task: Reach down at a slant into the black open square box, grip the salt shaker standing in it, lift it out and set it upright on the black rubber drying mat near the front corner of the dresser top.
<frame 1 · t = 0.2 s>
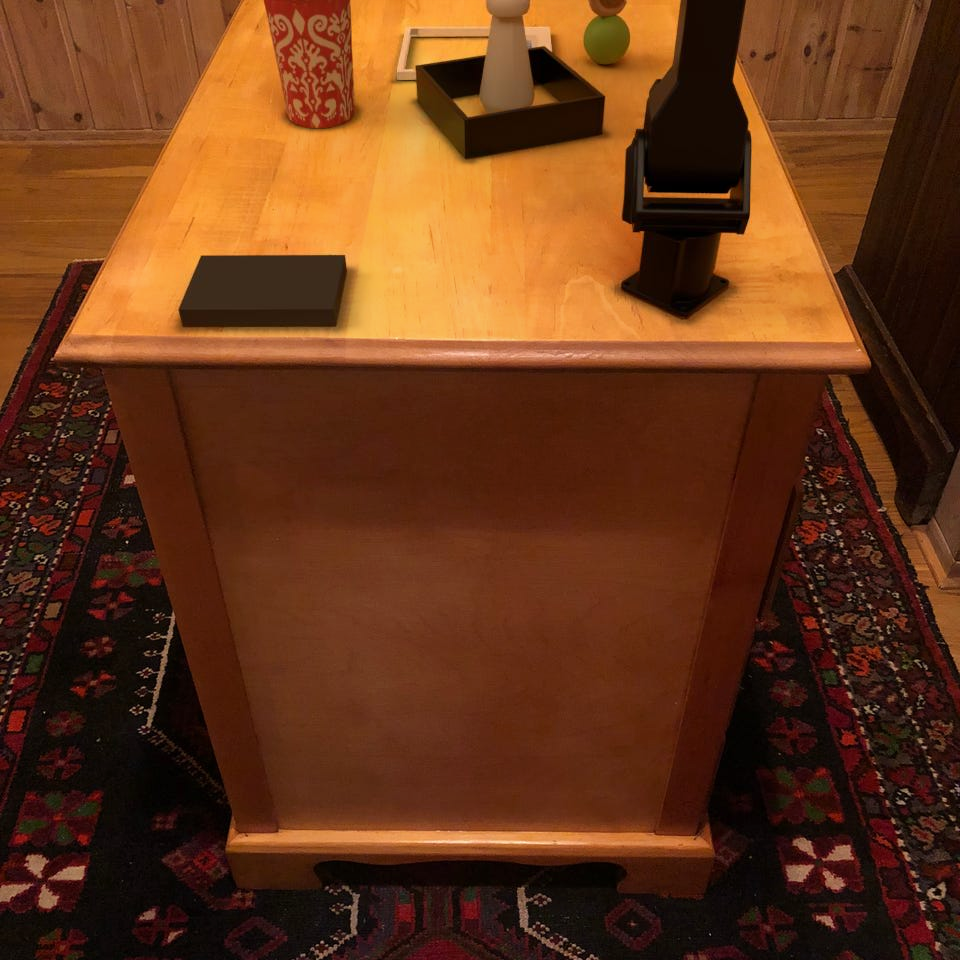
drying mat: (267, 298, 77), on the table
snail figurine: (601, 65, 113), on the table
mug: (325, 110, 104), on the table
salt shaker: (506, 119, 102), resting in black open square box
black open square box: (506, 118, 102), on the table
photo frame: (476, 57, 114), on the table
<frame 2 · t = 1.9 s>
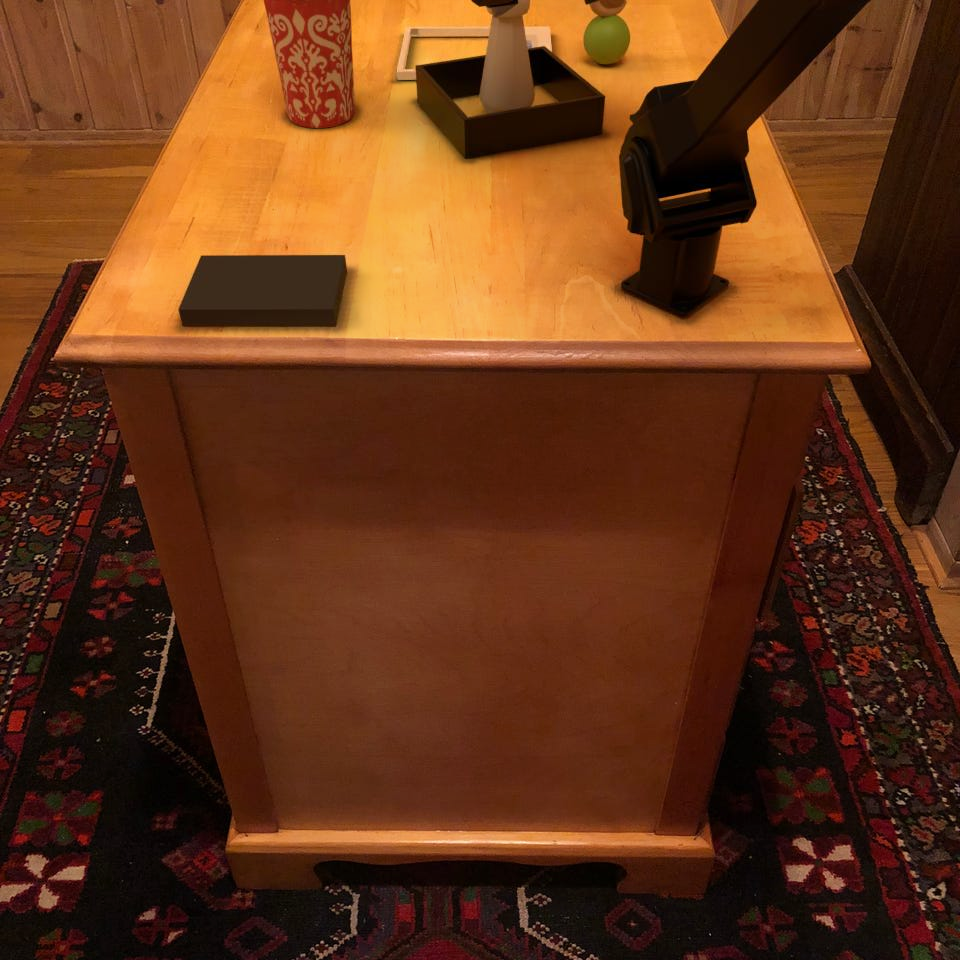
hand: (540, 5, 87), 13 cm above the table, tool tilted 45°, fingers open, 9 cm apart
nothing on the table moved.
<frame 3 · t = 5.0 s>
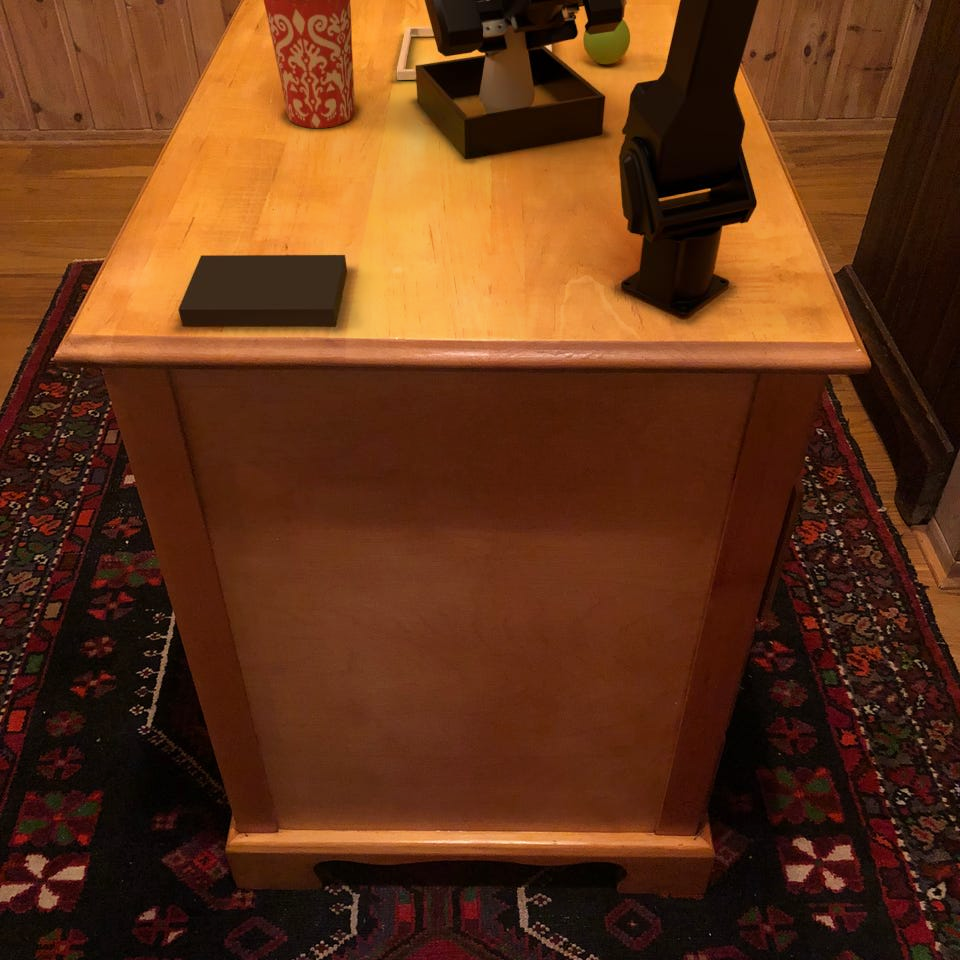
hand: (502, 50, 98), 7 cm above the table, tool tilted 45°, fingers closed on salt shaker, 3 cm apart
salt shaker: (506, 119, 102), resting in black open square box, touching gripper
everything else where it was.
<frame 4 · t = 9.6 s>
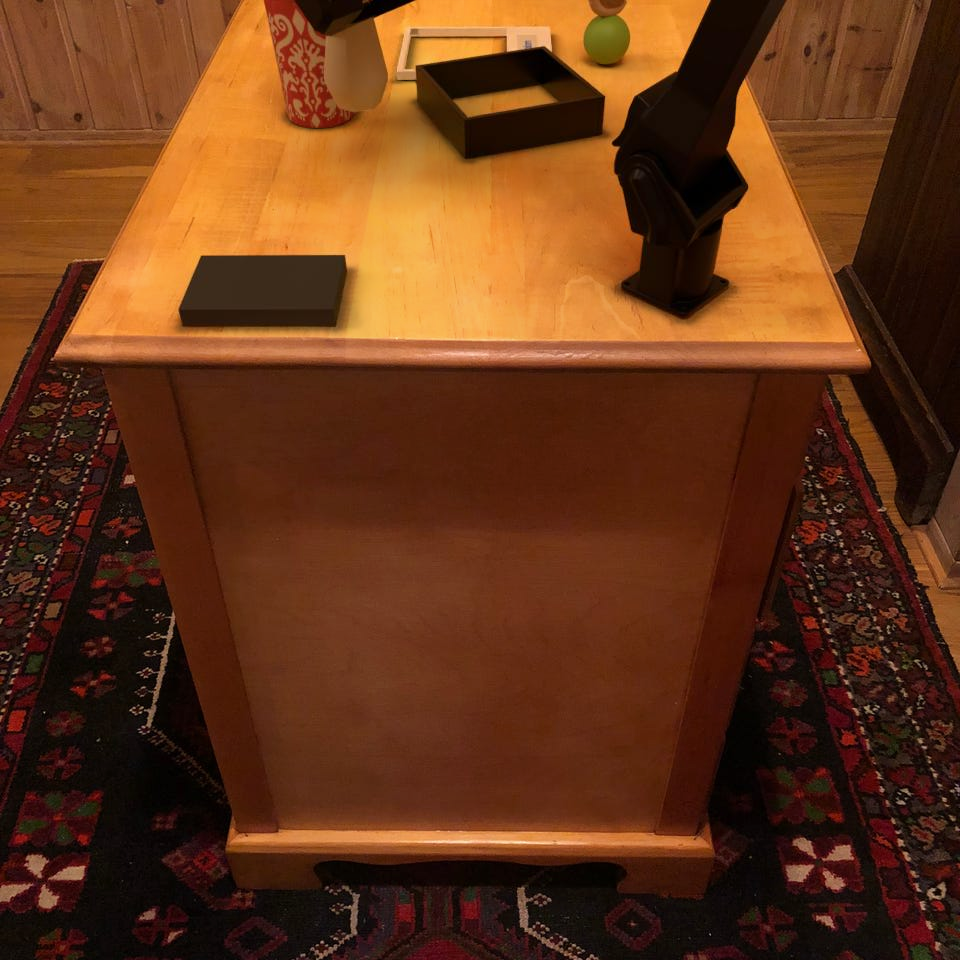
hand: (339, 25, 84), 13 cm above the table, tool tilted 45°, fingers closed on salt shaker, 3 cm apart
salt shaker: (359, 105, 88), point 6 cm above the table, touching gripper
everything else where it was.
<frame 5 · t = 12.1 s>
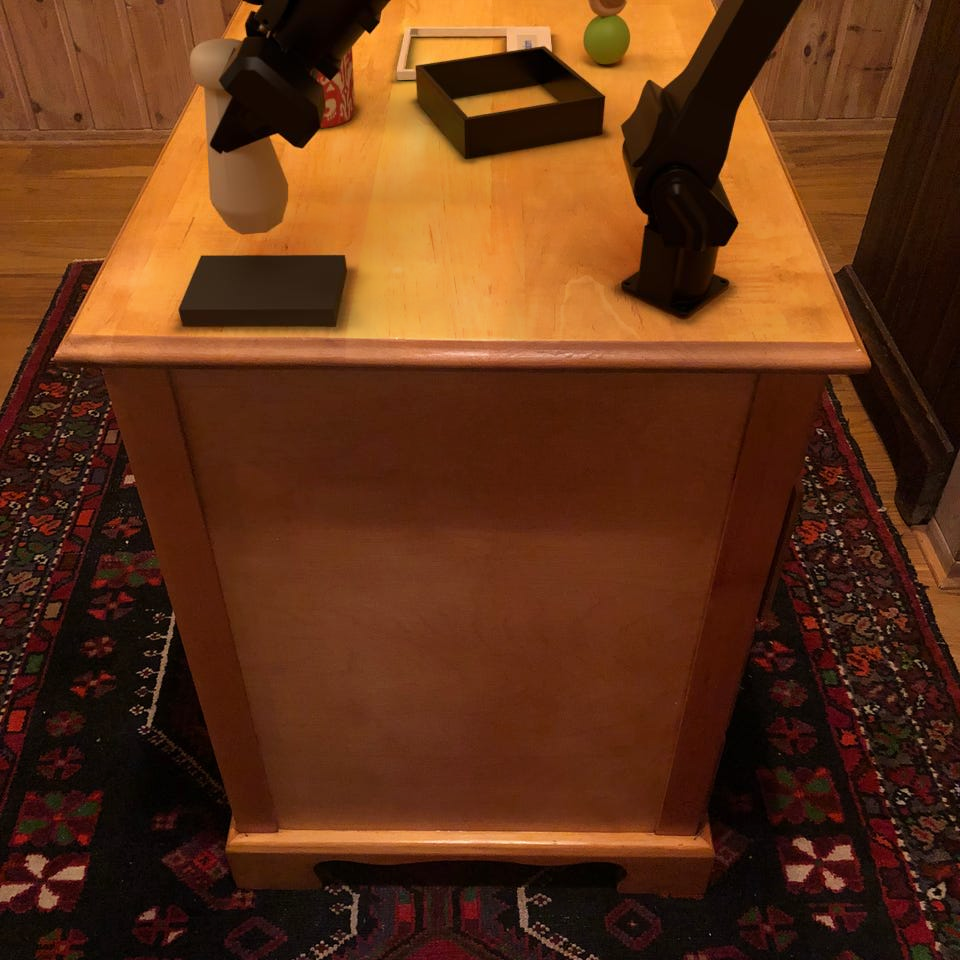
hand: (220, 138, 68), 13 cm above the table, tool tilted 45°, fingers closed on salt shaker, 3 cm apart
salt shaker: (256, 223, 72), point 6 cm above the table, touching gripper
everything else where it was.
when the fingers open (8 cm above the table, at t = 14.1 s): salt shaker stays where it is, resting on drying mat.
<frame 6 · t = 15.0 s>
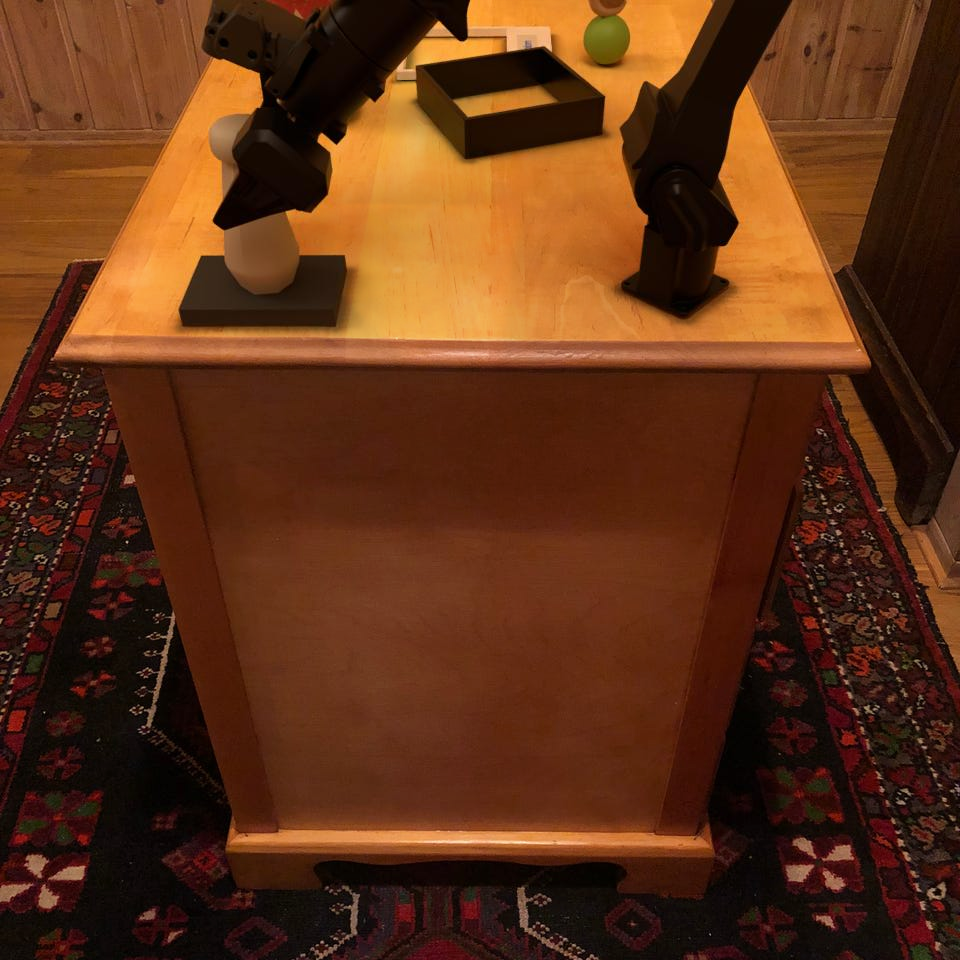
hand: (228, 194, 71), 9 cm above the table, tool tilted 45°, fingers open, 9 cm apart
salt shaker: (267, 283, 76), point 1 cm above the table, touching drying mat
everything else where it was.
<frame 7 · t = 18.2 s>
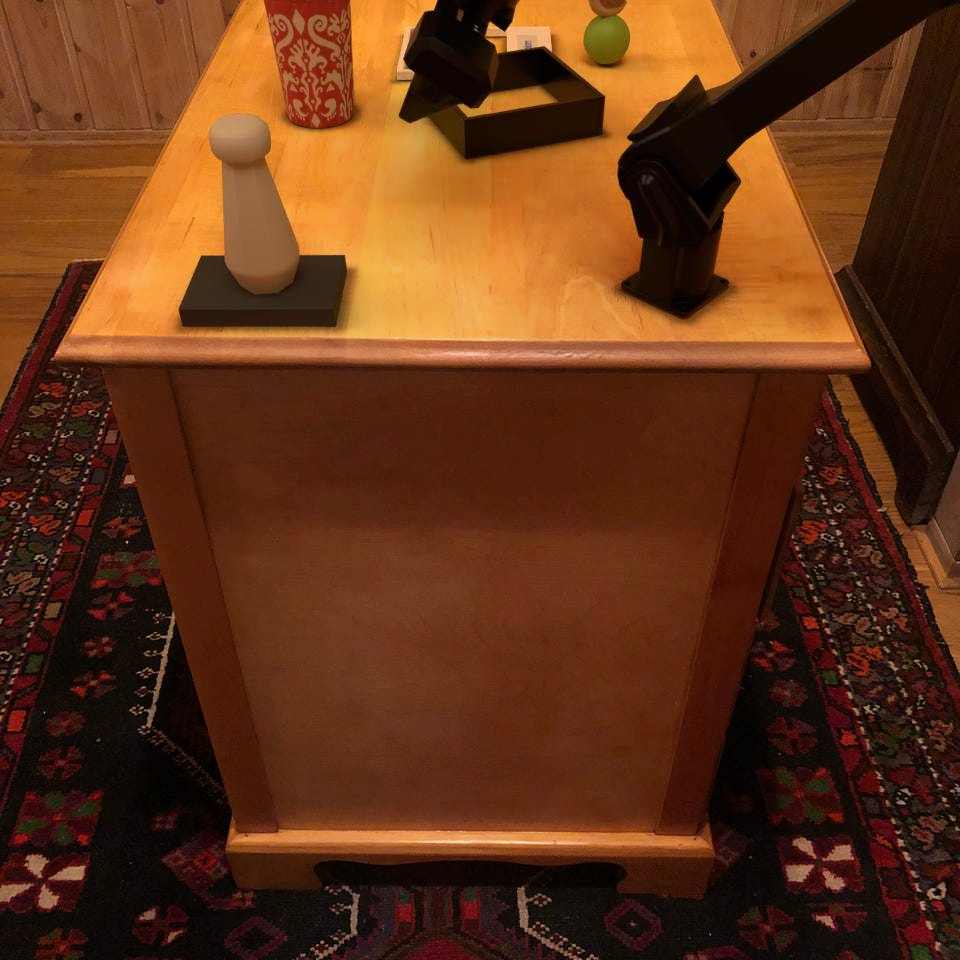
hand: (415, 83, 76), 13 cm above the table, tool tilted 35°, fingers open, 9 cm apart
nothing on the table moved.
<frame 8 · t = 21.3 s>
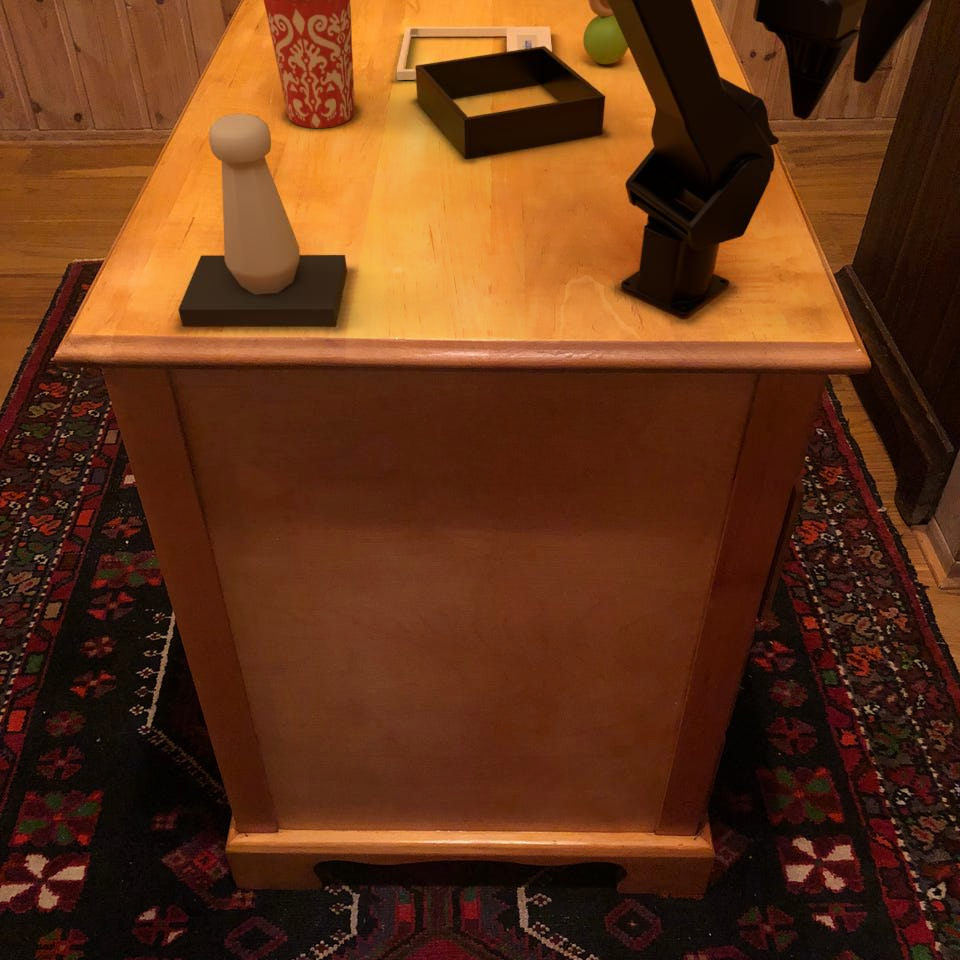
hand: (831, 98, 72), 13 cm above the table, tool pointing down, fingers open, 9 cm apart
nothing on the table moved.
at the end: salt shaker 0.2 cm off-centre on the drying mat, point 1.4 cm above the drying mat's base; salt shaker tilted 0°; the gripper is holding nothing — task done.
